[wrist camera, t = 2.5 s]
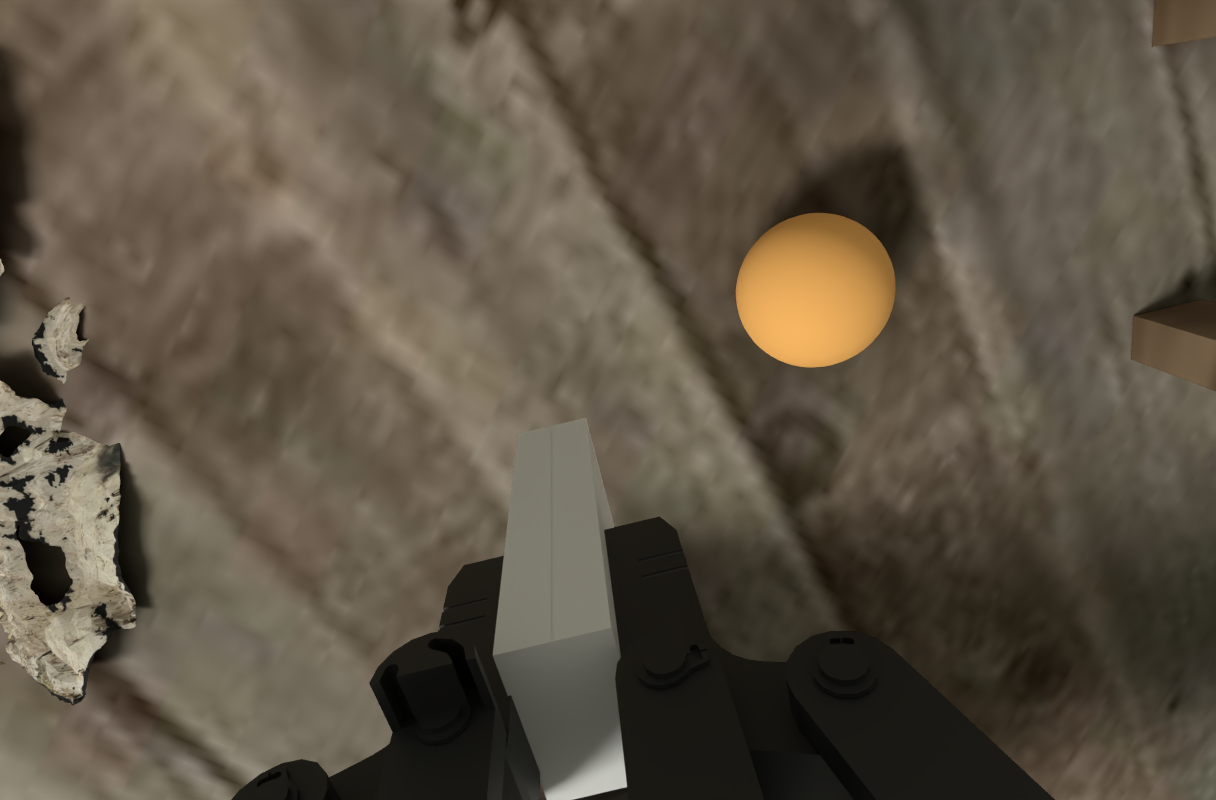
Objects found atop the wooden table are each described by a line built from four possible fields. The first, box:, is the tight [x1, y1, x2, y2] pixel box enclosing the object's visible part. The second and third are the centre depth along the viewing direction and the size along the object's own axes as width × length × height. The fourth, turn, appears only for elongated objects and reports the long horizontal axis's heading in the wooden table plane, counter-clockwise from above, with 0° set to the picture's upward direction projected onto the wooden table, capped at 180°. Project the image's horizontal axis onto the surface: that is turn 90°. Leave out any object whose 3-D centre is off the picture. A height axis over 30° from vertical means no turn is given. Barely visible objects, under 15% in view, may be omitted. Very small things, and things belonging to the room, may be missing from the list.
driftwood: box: [0, 259, 137, 705], centre depth 26 cm, size 25×10×5 cm
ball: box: [736, 213, 895, 367], centre depth 24 cm, size 6×6×6 cm
